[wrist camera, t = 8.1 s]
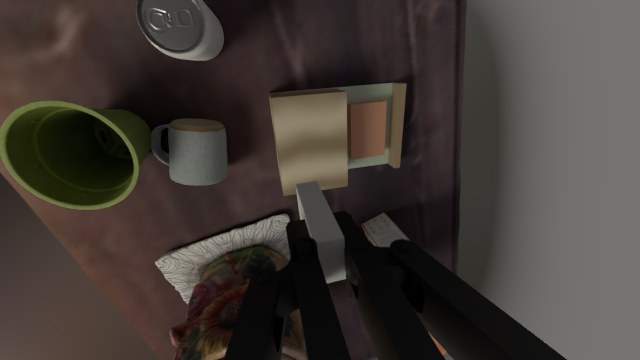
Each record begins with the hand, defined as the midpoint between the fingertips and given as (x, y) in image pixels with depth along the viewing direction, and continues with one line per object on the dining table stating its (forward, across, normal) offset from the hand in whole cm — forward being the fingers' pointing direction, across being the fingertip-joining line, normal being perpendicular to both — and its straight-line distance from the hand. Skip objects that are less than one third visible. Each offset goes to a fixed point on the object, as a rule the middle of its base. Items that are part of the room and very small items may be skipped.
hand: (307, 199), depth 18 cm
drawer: (+25, +14, -2) cm, 29 cm away
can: (+25, -9, +13) cm, 30 cm away
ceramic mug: (+25, -13, -2) cm, 29 cm away
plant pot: (+25, -22, +1) cm, 34 cm away
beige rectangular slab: (+25, +4, -2) cm, 25 cm away
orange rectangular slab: (+23, +14, -2) cm, 27 cm away
